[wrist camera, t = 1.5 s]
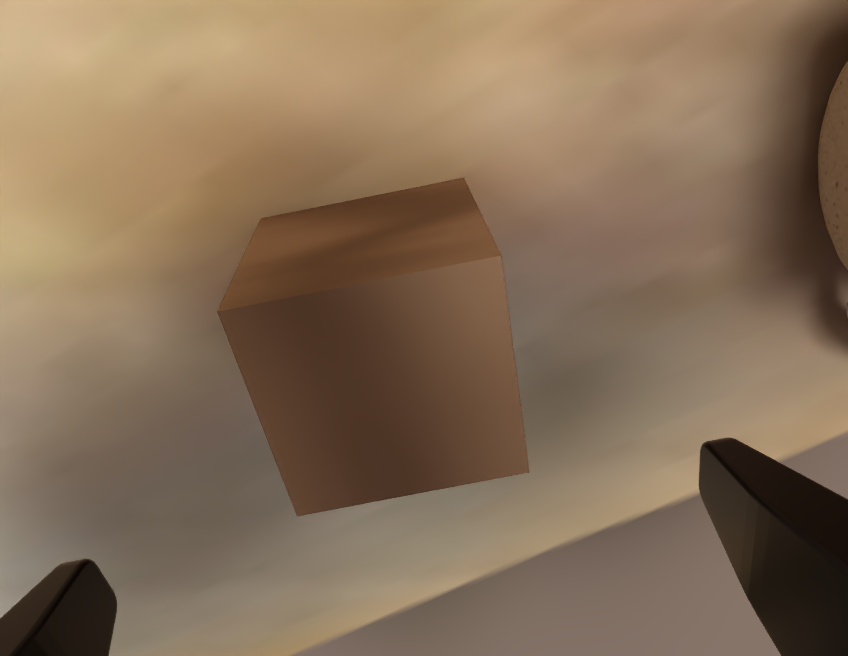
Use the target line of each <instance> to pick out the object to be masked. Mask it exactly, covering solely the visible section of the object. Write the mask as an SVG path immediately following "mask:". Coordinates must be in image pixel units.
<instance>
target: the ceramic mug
mask: <svg viewBox="0 0 848 656" xmlns="http://www.w3.org/2000/svg"><path fill="white" fill-rule="evenodd" d="M818 181H819V194H820V201H821V206H822V210H823V214H824V218H825V222H826V227H827V230H828V232H829V234H830V237H831V239H832V242H833V244H834V247H835V249H836V252H837V254H838V257H839V258H840V260H841V261H842V263H843V264H844V266H845V267H846V269H847V271H848V61H847V62H846V64H845V66H844V67H843V69H842V70H841V72H840V74H839V76H838V79H837V81H836V83H835V85H834V87H833V90H832V92H831V94H830V97H829V101H828V104H827V108H826V112H825V115H824V119H823V123H822V126H821V132H820V139H819V147H818ZM847 317H848V303H847Z"/></svg>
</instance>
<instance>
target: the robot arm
mask: <svg viewBox="0 0 848 656" xmlns="http://www.w3.org/2000/svg"><path fill="white" fill-rule="evenodd" d="M699 490H700V495H701V497H702V500H703V502H704V505H705V507H706V509H707V511H708V514H709V516H710V518H711V520H712V522H713V524H714V527H715V529H716V531H717V533H718V535H719V538H720V540H721V542H722V544H723V546H724V549H725V551H726V553H727V555H728V557H729V559H730V561H731V564H732V566H733V568H734V570H735V573H736V575H737V577H738V579H739V581H740V583H741V585H742V588H743V590H744V592H745V594H746V596H747V598H748V600H749V601H750V603H751V605H752V607H753V608H754V610H755V612H756V614H757V616H758V617H759V619H760V621H761V622H762V624H763V626H764V627H765V629H766V631H767V633H768V634H769V636H770V638H771V639H772V641H773V643H774V644H775V646H776V648H777V649H778V651H779V653H780V654H781V656H848V499H846V498H844V497H843V496H841V495H839V494H837V493H835V492H833V491H831V490H830V489H828V488H826V487H824V486H822V485H820V484H818V483H816V482H815V481H813V480H811V479H809V478H807V477H805V476H803V475H802V474H800V473H798V472H796V471H794V470H792V469H790V468H789V467H787V466H785V465H783V464H781V463H779V462H777V461H776V460H774V459H772V458H770V457H768V456H766V455H764V454H762V453H761V452H759V451H757V450H755V449H753V448H751V447H749V446H748V445H746V444H744V443H742V442H740V441H738V440H736V439H734V438H723V439H717V440H712V441H707V442H705V443H703V444H702V446H701V450H700V468H699ZM116 612H117V600H116V596H115V593H114V591H113V590H112V588H111V587H110V585H109V583H108V582H107V580H106V579H105V577H104V576H103V574H102V573H101V571H100V569H99V568H98V566H97V565H96V563H95V562H93V561H92V560H90V559H82V560H76V561H71V562H66V563H63V564H60V565H59V566H57V567H56V568H55V569H54V570H53V571H52V572H51V573H49V574H48V575H47V576H46V577H45V578H44V579H43V580H42V581H41V582H40V583H39V584H37V585H36V586H35V587H34V588H33V589H32V590H31V591H30V592H29V593H28V594H27V595H25V596H24V597H23V598H22V599H21V600H20V601H19V602H18V603H17V604H16V605H15V606H13V607H12V608H11V609H10V610H9V611H8V612H7V613H6V614H5V615H4V616H3V617H1V618H0V656H109V650H110V645H111V640H112V634H113V629H114V623H115V618H116Z"/></svg>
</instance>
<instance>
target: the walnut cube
mask: <svg viewBox="0 0 848 656" xmlns="http://www.w3.org/2000/svg"><path fill="white" fill-rule="evenodd" d="M217 312H218V314H219V317H220V319H221V322H222V325H223V327H224V330H225V332H226V335H227V337H228V340H229V343H230V345H231V348H232V350H233V353H234V355H235V358H236V360H237V363H238V366H239V368H240V371H241V373H242V376H243V378H244V381H245V384H246V386H247V389H248V391H249V394H250V396H251V399H252V402H253V404H254V407H255V409H256V412H257V414H258V417H259V420H260V422H261V425H262V427H263V430H264V432H265V435H266V437H267V440H268V443H269V445H270V448H271V450H272V453H273V455H274V458H275V461H276V463H277V466H278V468H279V471H280V473H281V476H282V479H283V481H284V484H285V486H286V489H287V491H288V494H289V496H290V499H291V502H292V504H293V507H294V509H295V512H296V514H297V516H301V515H306V514H312V513H317V512H322V511H327V510H333V509H338V508H343V507H349V506H354V505H359V504H364V503H370V502H375V501H380V500H385V499H391V498H396V497H401V496H407V495H412V494H417V493H422V492H428V491H433V490H438V489H443V488H449V487H454V486H459V485H465V484H470V483H475V482H480V481H486V480H491V479H496V478H501V477H507V476H512V475H517V474H523V473H528V472H529V466H528V458H527V451H526V443H525V435H524V427H523V420H522V412H521V404H520V397H519V389H518V381H517V373H516V366H515V358H514V350H513V343H512V335H511V327H510V319H509V312H508V304H507V296H506V289H505V281H504V273H503V266H502V258H501V254H500V252H499V250H498V248H497V246H496V244H495V242H494V239H493V237H492V235H491V233H490V231H489V229H488V227H487V225H486V223H485V221H484V219H483V217H482V215H481V212H480V210H479V208H478V206H477V204H476V202H475V200H474V198H473V196H472V194H471V192H470V190H469V187H468V185H467V183H466V181H465V179H464V178H460V179H455V180H450V181H445V182H440V183H436V184H431V185H426V186H421V187H416V188H411V189H406V190H401V191H396V192H391V193H386V194H381V195H376V196H371V197H366V198H361V199H356V200H351V201H346V202H341V203H336V204H331V205H326V206H321V207H316V208H311V209H306V210H301V211H296V212H291V213H286V214H281V215H276V216H271V217H267V218H262V219H261V220H260V222H259V224H258V226H257V228H256V230H255V232H254V235H253V237H252V239H251V241H250V243H249V245H248V247H247V249H246V252H245V254H244V256H243V258H242V260H241V262H240V264H239V267H238V269H237V271H236V273H235V275H234V277H233V279H232V281H231V284H230V286H229V288H228V290H227V292H226V294H225V296H224V299H223V301H222V303H221V305H220V307H219V309H218V311H217Z"/></svg>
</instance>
